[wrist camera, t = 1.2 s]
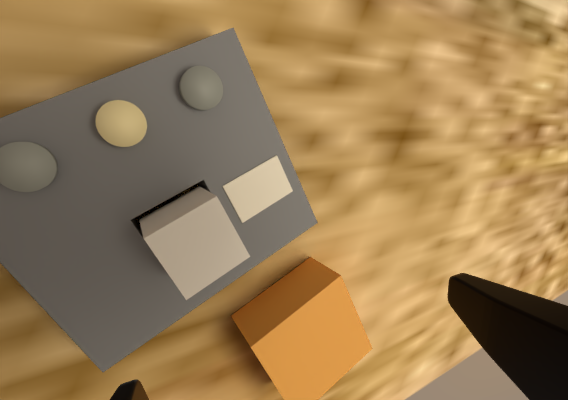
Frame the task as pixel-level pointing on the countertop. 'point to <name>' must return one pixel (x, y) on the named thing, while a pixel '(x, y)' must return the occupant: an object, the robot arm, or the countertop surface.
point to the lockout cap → (304, 331)
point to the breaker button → (193, 240)
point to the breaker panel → (139, 189)
